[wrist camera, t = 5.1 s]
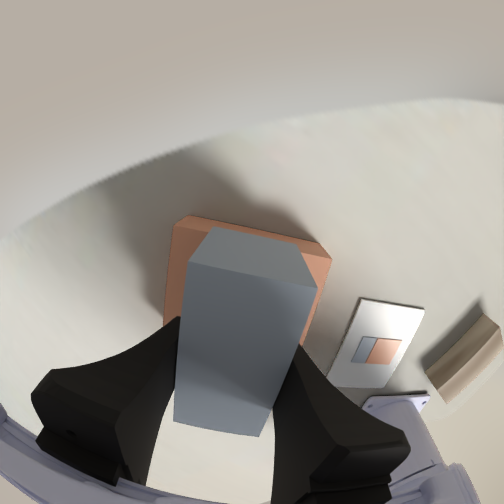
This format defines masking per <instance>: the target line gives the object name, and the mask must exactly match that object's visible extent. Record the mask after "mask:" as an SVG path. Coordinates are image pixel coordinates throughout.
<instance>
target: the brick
mask: <svg viewBox="0 0 504 504" xmlns="http://www.w3.org/2000/svg"><path fill="white" fill-rule="evenodd" d="M503 348H504V346H503V340H502V335H501V330H500V327H499V326H498V325H497V324H496V323H495V322H493V321H492V320H491V319H490V318H489V317H487V316H486V315H485V314H484V313H483V314H482V316H481V317H480V318H479V319H478V320H477V321H476V322H475V324H474V325H473V326H472V327H471V328H470V329H469V330H468V331H467V332H466V333H465V334H464V335H463V336H462V337H461V338H460V339H459V340H458V341H457V342H456V343H455V344H454V345H453V346H452V347H451V348H450V349H449V350H448V351H447V352H446V353H445V354H444V355H443V356H442V357H441V358H440V359H439V360H437V361H436V362H435V363H434V364H433V365H432V366H431V367H430V368H428V369H427V370H426V371H425V374H426V375H427V376H428V378H429V379H430V381H431V382H432V384H433V385H434V387H435V388H436V390H437V391H438V393H439V394H440V395H441V397H442V398H443V400H444V401H445V403H446V404H448V403H449V402H450V401H451V400H452V399H453V398H455V397H456V396H457V395H458V394H459V393H460V392H461V391H462V390H464V389H465V388H466V387H467V386H468V385H469V384H470V383H471V382H472V381H473V380H474V379H475V378H476V377H477V376H478V375H479V374H480V373H481V372H482V371H483V370H484V369H485V368H486V367H487V366H488V365H489V364H490V363H491V362H492V361H493V359H494V358H495V357H496V356H497V355H498V354H499V353H500V352H501V350H502V349H503Z"/></svg>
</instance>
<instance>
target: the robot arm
mask: <svg viewBox="0 0 504 504" xmlns="http://www.w3.org/2000/svg"><path fill="white" fill-rule="evenodd" d="M180 320H181V317H180V316H176V317H174V318H173V319H172V320H171V321H170V322H168V323H167V324H166V325H165V326H163V327H162V328H161V329H159V330H158V331H157V332H155V333H154V334H152V335H151V336H150V337H148V338H147V339H145V340H143V341H142V342H140V343H139V344H137V345H135V346H134V347H132V348H130V349H128V350H126V351H124V352H122V353H120V354H117V355H115V356H112V357H109V358H106V359H104V360H101V361H98V362H94V363H90V364H86V365H82V366H76V367H70V368H61V369H51V370H50V371H49V372H48V373H47V374H46V375H45V377H44V378H43V379H42V380H41V382H40V383H39V384H38V385H37V387H36V388H35V389H34V391H33V392H32V393H31V401H32V404H33V407H34V409H35V411H36V413H37V415H38V416H39V418H40V420H41V422H42V424H43V426H44V428H43V429H42V431H41V432H40V434H39V435H38V436H36V435H34V434H33V433H31V432H30V431H28V430H27V429H25V428H24V427H23V426H21V425H20V424H18V423H17V422H16V421H14V420H13V419H11V418H10V417H9V416H8V415H7V412H6V411H5V409H4V407H3V406H2V405H1V403H0V475H1V476H3V477H4V478H5V479H6V480H7V481H9V482H10V483H11V484H13V485H14V486H15V487H17V488H18V489H19V490H20V491H22V492H23V493H25V494H26V495H27V496H29V497H30V498H32V499H33V500H34V501H36V502H37V503H39V504H226V503H219V502H212V501H206V500H200V499H195V498H189V497H185V496H180V495H176V494H172V493H168V492H164V491H160V490H157V489H153V488H150V487H146V481H147V476H148V471H149V467H150V463H151V458H152V454H153V450H154V446H155V443H156V439H157V435H158V431H159V428H160V424H161V421H162V417H163V415H164V412H165V409H166V407H167V405H168V402H169V400H170V398H171V395H172V393H173V391H174V388H175V378H176V364H177V352H178V340H179V330H180ZM429 399H430V395H429V394H419V395H403V396H373V397H370V398H368V400H367V401H366V402H365V404H364V405H363V407H362V408H360V407H359V406H357V405H356V404H354V403H353V402H352V401H350V400H349V399H348V398H347V397H345V396H344V395H343V394H342V393H341V392H340V391H339V390H338V389H337V388H336V387H335V386H334V385H332V383H331V382H330V381H329V380H328V379H327V378H326V377H325V376H324V375H323V374H322V372H321V371H320V370H319V369H318V368H317V366H316V365H315V364H314V363H313V361H312V360H311V359H310V357H309V356H308V355H307V353H306V352H305V351H304V349H303V348H302V346H301V345H300V344H298V346H297V349H296V351H295V354H294V357H293V359H292V362H291V364H290V367H289V369H288V372H287V374H286V377H285V379H284V381H283V384H282V386H281V389H280V391H279V393H278V396H277V398H276V400H275V402H274V405H273V407H272V410H273V419H274V428H275V456H274V474H273V486H272V496H271V504H480V501H479V498H478V496H477V493H476V491H475V489H474V486H473V484H472V482H471V480H470V478H469V476H468V474H467V472H466V470H465V469H464V467H463V465H462V464H456V463H452V464H451V465H450V466H447V465H446V464H445V463H444V461H443V459H442V457H441V455H440V453H439V451H438V449H437V447H436V445H435V443H434V441H433V439H432V437H431V435H430V433H429V431H428V429H427V427H426V425H425V423H424V421H423V419H422V418H421V416H420V414H419V412H420V411H421V410H422V408H423V407H424V406H425V404H426V403H427V402H428V400H429Z"/></svg>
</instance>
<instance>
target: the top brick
mask: <svg viewBox="0 0 504 504" xmlns="http://www.w3.org/2000/svg"><path fill="white" fill-rule="evenodd" d="M317 290H318V287H317V285H316V283H315V281H314V279H313V277H312V275H311V272H310V270H309V268H308V266H307V264H306V262H305V260H304V258H303V256H302V254H301V252H300V250H299V248H298V246H297V244H294V243H289V242H285V241H280V240H276V239H271V238H266V237H262V236H257V235H253V234H248V233H243V232H239V231H234V230H229V229H224V228H220V227H215V226H213V227H212V229H211V230H210V231H209V233H208V234H207V236H206V237H205V238H204V240H203V241H202V242H201V244H200V245H199V246H198V248H197V249H196V251H195V252H194V253H193V255H192V256H191V258H190V259H189V260H188V264H187V271H186V279H185V286H184V294H183V302H182V311H181V320H180V330H179V340H178V352H177V364H176V378H175V394H174V415H173V421H174V422H178V423H182V424H186V425H191V426H195V427H200V428H205V429H210V430H215V431H221V432H226V433H233V434H239V435H247V436H255V437H259V435H260V433H261V431H262V429H263V427H264V425H265V423H266V420H267V418H268V416H269V414H270V411H271V409H272V407H273V405H274V402H275V400H276V398H277V396H278V393H279V391H280V389H281V386H282V384H283V381H284V379H285V377H286V374H287V372H288V369H289V367H290V364H291V362H292V359H293V357H294V354H295V351H296V349H297V346H298V344H299V341H300V338H301V336H302V333H303V330H304V327H305V325H306V322H307V319H308V316H309V314H310V311H311V308H312V305H313V302H314V299H315V296H316V293H317Z"/></svg>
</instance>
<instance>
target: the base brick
mask: <svg viewBox="0 0 504 504" xmlns="http://www.w3.org/2000/svg"><path fill="white" fill-rule="evenodd" d="M213 226H215V227H220V228H224V229H229V230H234V231H239V232H243V233H248V234H253V235H257V236H262V237H266V238H271V239H276V240H280V241H285V242H289V243H294V244H297V246H298V248H299V250H300V252H301V254H302V256H303V258H304V260H305V262H306V264H307V266H308V268H309V270H310V272H311V275H312V277H313V279H314V281H315V283H316V285H317V287H318V290H317V293H316V296H315V299H314V302H313V305H312V308H311V311H310V314H309V316H308V319H307V322H306V325H305V327H304V330H303V333H302V336H301V338H300V341H299V344H300V345H301V346H302V345H303V342H304V340H305V337H306V335H307V332H308V329H309V327H310V324H311V321H312V318H313V316H314V313H315V310H316V307H317V304H318V301H319V299H320V296H321V293H322V290H323V287H324V284H325V281H326V278H327V275H328V271H329V268H330V265H331V262H332V258H331V257H330V256H329V255H328V253H327V252H326V251H325V250H324V248H323V247H322V246H321V245H320V243H315V242H311V241H307V240H302V239H298V238H294V237H289V236H285V235H280V234H276V233H271V232H267V231H262V230H258V229H253V228H248V227H244V226H239V225H234V224H230V223H225V222H220V221H215V220H210V219H206V218H201V217H196V216H191V215H188V216H186V217H185V218H183V219H182V220H180V221H179V222H177V223H176V224H174V226H173V233H172V240H171V248H170V256H169V264H168V273H167V283H166V293H165V305H164V318H163V326H165V325H166V324H167V323H168V322H170V321H171V320H172V319H173V318H174V317H176V316H180V317H181V311H182V302H183V294H184V286H185V279H186V271H187V264H188V260H189V259H190V258H191V256H192V255H193V253H194V252H195V251H196V249H197V248H198V246H199V245H200V244H201V242H202V241H203V240H204V238H205V237H206V236H207V234H208V233H209V231H210V230H211V229H212V227H213Z"/></svg>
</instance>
